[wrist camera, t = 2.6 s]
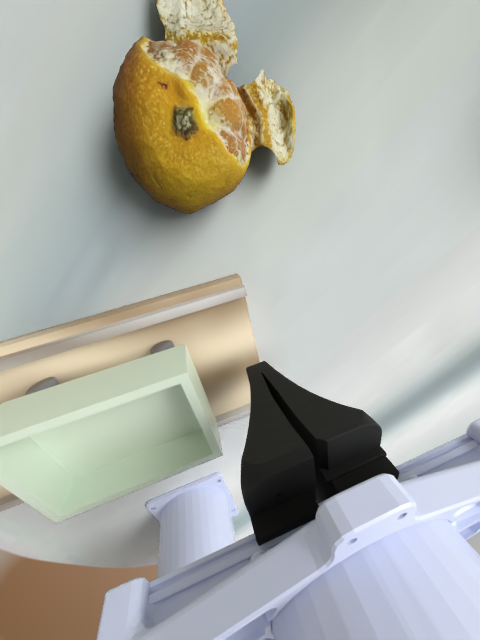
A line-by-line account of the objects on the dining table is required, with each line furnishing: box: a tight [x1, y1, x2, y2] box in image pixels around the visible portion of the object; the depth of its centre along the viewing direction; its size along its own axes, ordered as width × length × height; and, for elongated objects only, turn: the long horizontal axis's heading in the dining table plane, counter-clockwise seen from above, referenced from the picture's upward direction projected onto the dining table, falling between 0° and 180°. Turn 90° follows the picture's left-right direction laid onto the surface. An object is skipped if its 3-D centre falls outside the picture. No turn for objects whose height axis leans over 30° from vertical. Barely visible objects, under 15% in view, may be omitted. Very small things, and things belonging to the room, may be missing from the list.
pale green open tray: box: [0, 340, 223, 523], centre depth 13 cm, size 7×10×4 cm
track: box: [0, 274, 260, 511], centre depth 14 cm, size 12×25×3 cm, turn 103°
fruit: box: [113, 0, 295, 213], centre depth 9 cm, size 8×8×4 cm
